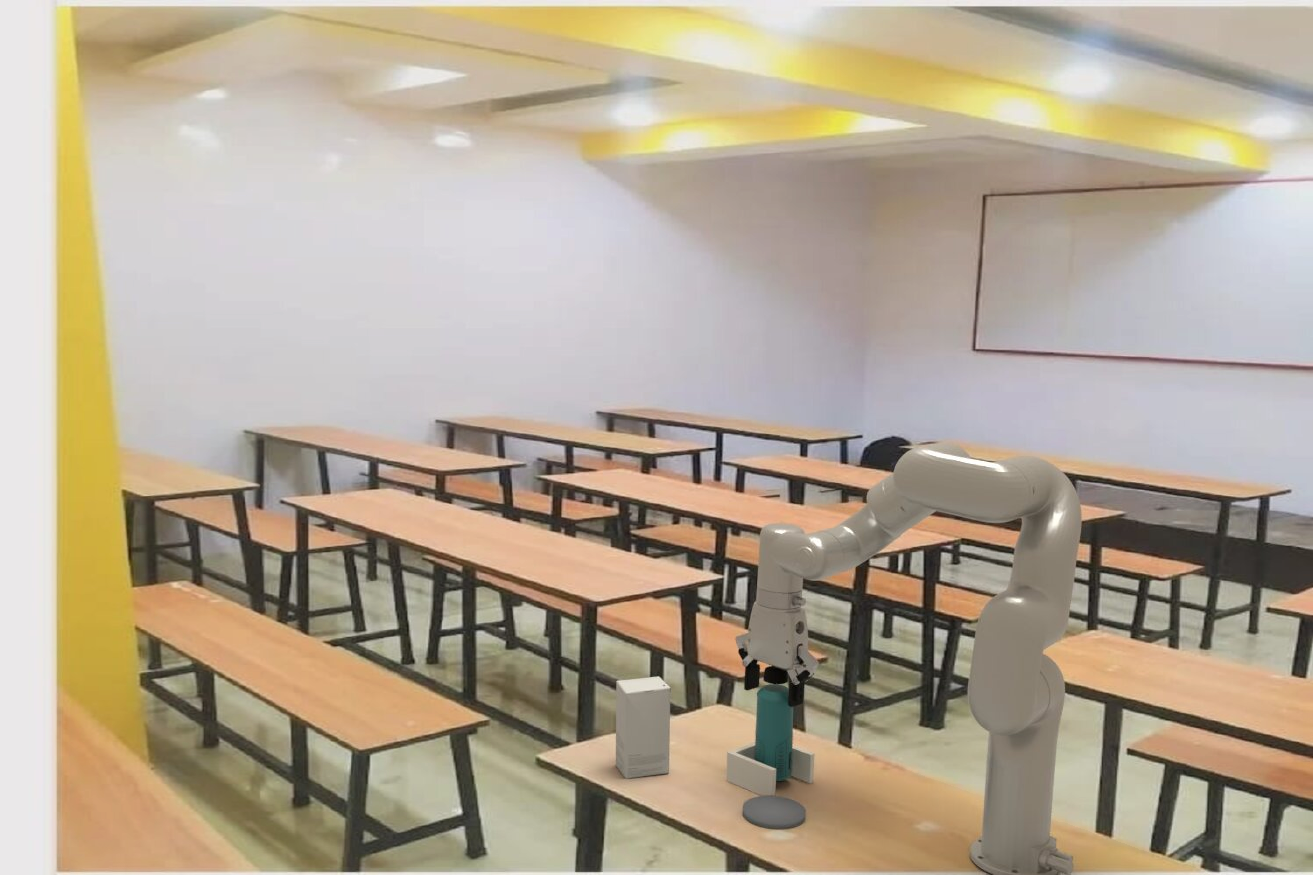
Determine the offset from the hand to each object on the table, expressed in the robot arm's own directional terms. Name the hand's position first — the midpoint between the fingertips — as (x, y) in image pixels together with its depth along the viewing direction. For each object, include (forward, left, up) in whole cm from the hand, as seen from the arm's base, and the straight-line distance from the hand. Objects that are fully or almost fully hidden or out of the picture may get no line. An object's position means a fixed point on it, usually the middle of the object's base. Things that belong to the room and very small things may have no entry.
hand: (773, 696), depth 197 cm
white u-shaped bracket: (-1, 0, -15) cm, 15 cm away
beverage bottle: (-1, 0, -15) cm, 15 cm away
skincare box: (+17, +13, -15) cm, 27 cm away
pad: (-9, +9, -15) cm, 20 cm away
